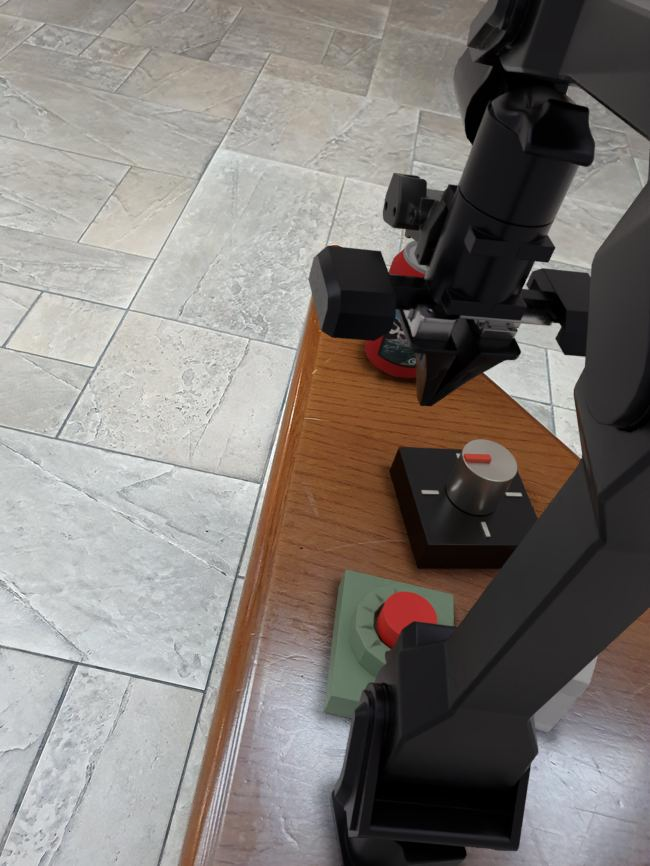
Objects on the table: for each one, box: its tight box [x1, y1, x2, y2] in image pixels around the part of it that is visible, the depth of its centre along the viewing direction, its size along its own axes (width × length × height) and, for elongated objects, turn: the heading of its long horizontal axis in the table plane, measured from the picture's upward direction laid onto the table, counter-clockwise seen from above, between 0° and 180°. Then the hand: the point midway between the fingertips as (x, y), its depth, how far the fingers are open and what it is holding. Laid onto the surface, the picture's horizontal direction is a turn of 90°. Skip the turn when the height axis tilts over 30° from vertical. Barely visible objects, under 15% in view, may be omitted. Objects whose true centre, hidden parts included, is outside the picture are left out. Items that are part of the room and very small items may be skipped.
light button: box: [377, 592, 437, 649], centre depth 56 cm, size 4×4×2 cm
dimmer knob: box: [446, 438, 518, 515], centre depth 66 cm, size 4×4×4 cm
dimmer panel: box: [388, 446, 539, 569], centre depth 69 cm, size 10×10×3 cm
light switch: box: [534, 655, 599, 734], centre depth 59 cm, size 2×12×8 cm, turn 168°
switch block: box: [323, 569, 455, 719], centre depth 57 cm, size 10×8×4 cm
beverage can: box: [364, 239, 427, 379], centre depth 79 cm, size 7×7×12 cm
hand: (423, 401), depth 58 cm, fingers closed
